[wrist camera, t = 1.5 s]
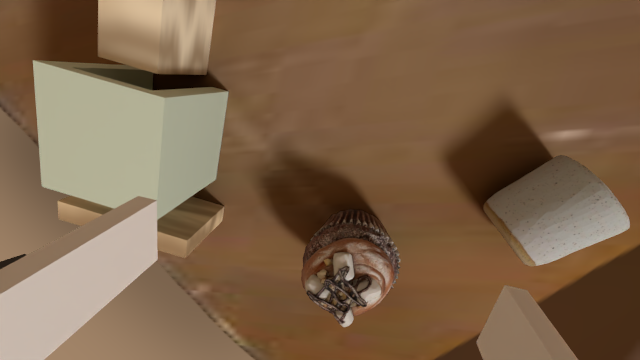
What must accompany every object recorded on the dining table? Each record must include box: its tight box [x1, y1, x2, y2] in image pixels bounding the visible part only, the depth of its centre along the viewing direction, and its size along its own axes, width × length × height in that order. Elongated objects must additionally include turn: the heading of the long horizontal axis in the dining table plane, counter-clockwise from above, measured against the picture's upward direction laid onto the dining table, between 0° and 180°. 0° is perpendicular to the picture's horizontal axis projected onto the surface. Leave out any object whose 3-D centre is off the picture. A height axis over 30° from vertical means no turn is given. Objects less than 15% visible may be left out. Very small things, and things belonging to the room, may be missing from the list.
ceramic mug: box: [483, 155, 630, 266], centre depth 27 cm, size 11×8×8 cm
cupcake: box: [301, 209, 400, 327], centre depth 30 cm, size 10×10×10 cm
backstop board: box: [58, 196, 224, 258], centre depth 32 cm, size 2×13×8 cm, turn 75°
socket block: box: [33, 60, 229, 220], centre depth 28 cm, size 10×10×11 cm
